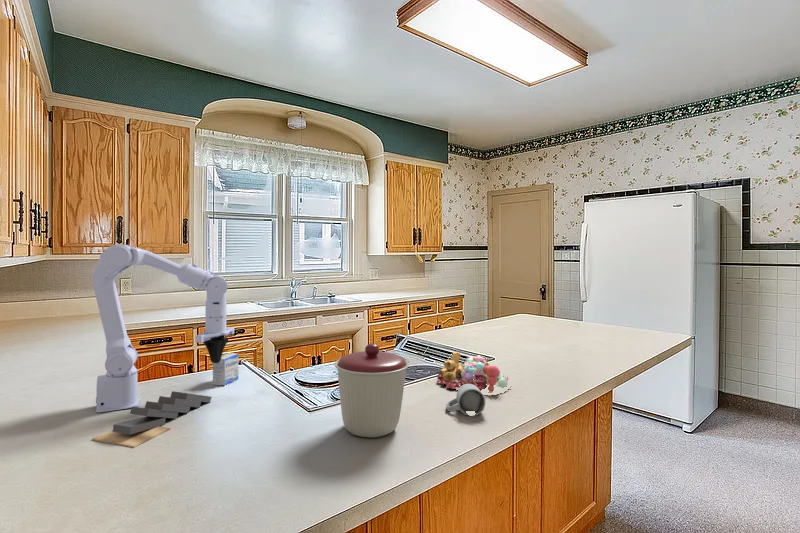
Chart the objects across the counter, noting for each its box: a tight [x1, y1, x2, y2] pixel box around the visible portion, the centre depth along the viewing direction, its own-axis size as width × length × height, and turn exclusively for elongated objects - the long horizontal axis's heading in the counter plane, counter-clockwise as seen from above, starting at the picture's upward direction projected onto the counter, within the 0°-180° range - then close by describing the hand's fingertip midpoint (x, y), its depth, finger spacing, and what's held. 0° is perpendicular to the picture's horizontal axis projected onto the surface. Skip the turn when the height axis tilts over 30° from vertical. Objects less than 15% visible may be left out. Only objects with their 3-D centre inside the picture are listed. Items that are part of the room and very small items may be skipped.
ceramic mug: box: [445, 384, 486, 416], centre depth 120 cm, size 10×8×7 cm
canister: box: [334, 343, 410, 438], centre depth 106 cm, size 18×18×21 cm
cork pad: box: [91, 426, 171, 448], centre depth 101 cm, size 10×12×1 cm
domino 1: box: [112, 416, 167, 435], centre depth 103 cm, size 2×5×10 cm
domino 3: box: [144, 400, 191, 414], centre depth 111 cm, size 2×5×10 cm
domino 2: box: [129, 406, 179, 419], centre depth 107 cm, size 2×5×10 cm
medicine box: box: [212, 352, 240, 387], centre depth 141 cm, size 8×4×9 cm, turn 168°
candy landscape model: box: [436, 351, 509, 393], centre depth 146 cm, size 25×24×9 cm
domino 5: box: [169, 391, 212, 403], centre depth 119 cm, size 2×5×10 cm
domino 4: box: [157, 395, 202, 409], centre depth 115 cm, size 2×5×10 cm
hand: (215, 362), depth 128 cm, fingers closed
